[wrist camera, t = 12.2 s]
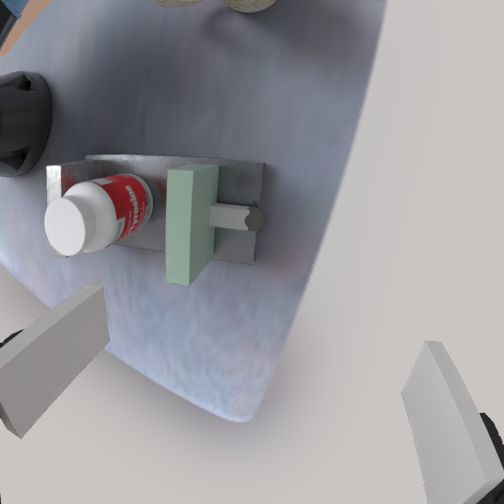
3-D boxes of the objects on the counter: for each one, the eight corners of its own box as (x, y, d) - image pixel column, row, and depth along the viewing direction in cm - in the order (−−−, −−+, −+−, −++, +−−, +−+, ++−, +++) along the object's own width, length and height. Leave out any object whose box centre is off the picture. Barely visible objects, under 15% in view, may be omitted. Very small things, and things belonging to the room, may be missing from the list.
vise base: (93, 236, 35) (49, 259, 27) (92, 154, 32) (43, 160, 24) (254, 259, 33) (239, 296, 25) (264, 162, 30) (251, 168, 22)
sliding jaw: (194, 252, 32) (165, 282, 25) (199, 163, 29) (167, 169, 22) (261, 261, 31) (249, 296, 24) (271, 170, 28) (261, 177, 21)
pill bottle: (154, 233, 32) (94, 272, 22) (106, 225, 33) (41, 258, 22) (157, 174, 30) (92, 191, 20) (107, 170, 31) (36, 186, 20)
